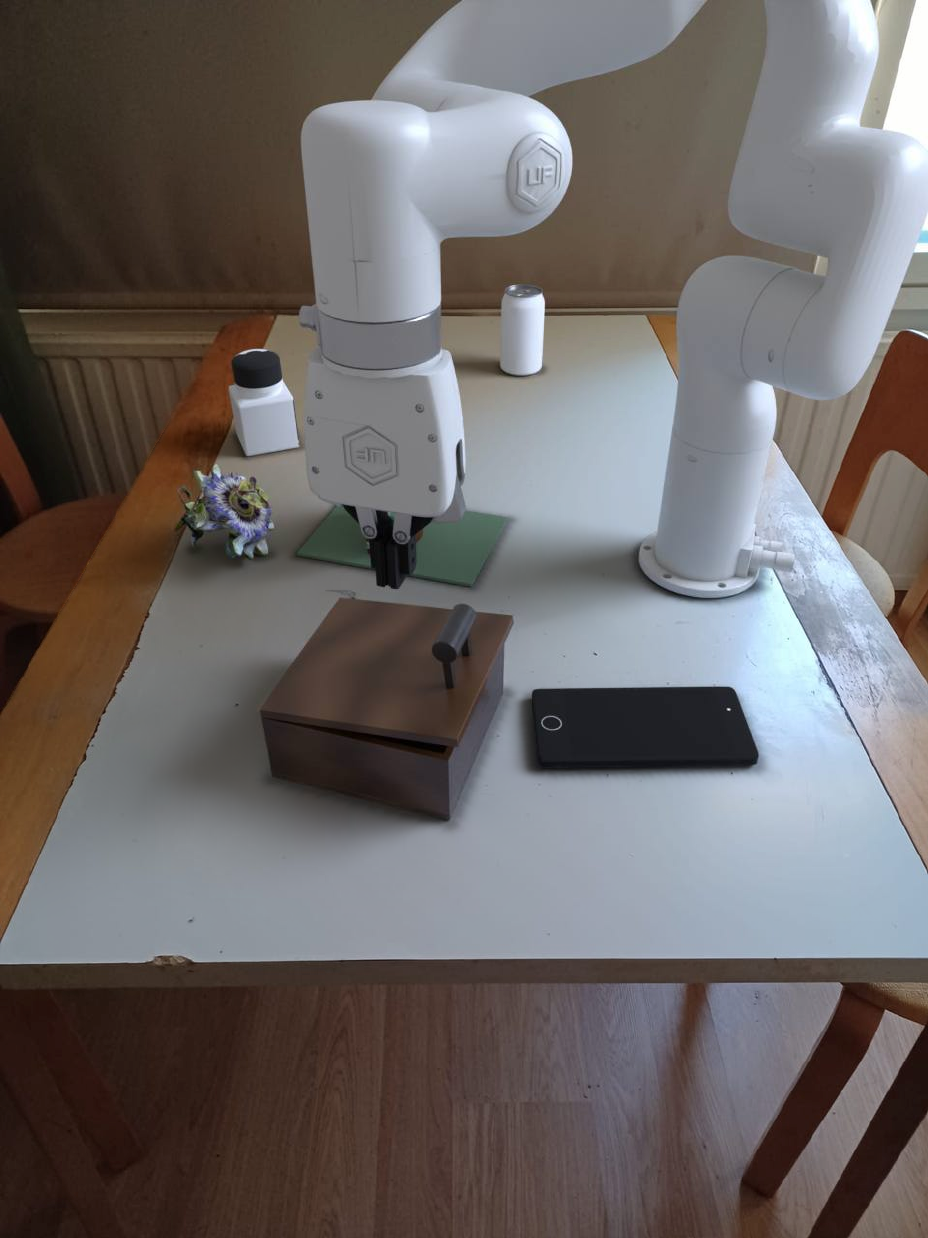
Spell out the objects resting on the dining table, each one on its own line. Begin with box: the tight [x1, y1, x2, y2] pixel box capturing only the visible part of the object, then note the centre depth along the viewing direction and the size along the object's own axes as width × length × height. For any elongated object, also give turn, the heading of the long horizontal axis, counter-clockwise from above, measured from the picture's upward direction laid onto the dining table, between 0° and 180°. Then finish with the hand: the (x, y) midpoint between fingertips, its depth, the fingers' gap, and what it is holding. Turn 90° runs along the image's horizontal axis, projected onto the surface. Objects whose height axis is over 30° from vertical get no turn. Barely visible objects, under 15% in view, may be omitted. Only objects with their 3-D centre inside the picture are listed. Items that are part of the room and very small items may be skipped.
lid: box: [258, 597, 515, 747], centre depth 71 cm, size 16×15×5 cm
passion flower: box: [174, 464, 275, 562], centre depth 98 cm, size 11×11×12 cm
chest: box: [260, 645, 505, 821], centre depth 75 cm, size 15×15×7 cm
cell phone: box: [531, 685, 760, 769], centre depth 77 cm, size 9×18×1 cm, turn 91°
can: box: [499, 283, 546, 377], centre depth 137 cm, size 6×6×12 cm
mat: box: [296, 505, 508, 588], centre depth 102 cm, size 20×14×1 cm
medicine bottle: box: [228, 348, 300, 457], centre depth 118 cm, size 7×7×12 cm
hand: (394, 577), depth 67 cm, fingers closed
